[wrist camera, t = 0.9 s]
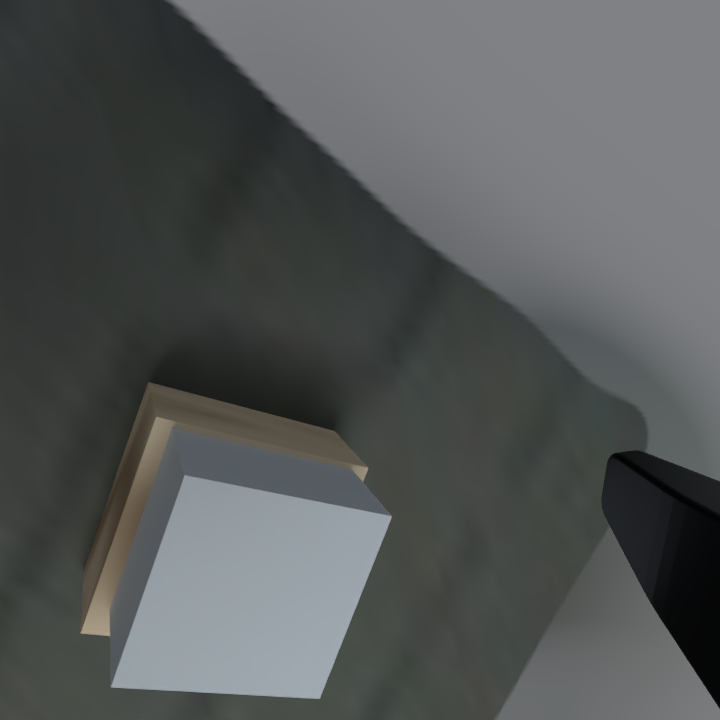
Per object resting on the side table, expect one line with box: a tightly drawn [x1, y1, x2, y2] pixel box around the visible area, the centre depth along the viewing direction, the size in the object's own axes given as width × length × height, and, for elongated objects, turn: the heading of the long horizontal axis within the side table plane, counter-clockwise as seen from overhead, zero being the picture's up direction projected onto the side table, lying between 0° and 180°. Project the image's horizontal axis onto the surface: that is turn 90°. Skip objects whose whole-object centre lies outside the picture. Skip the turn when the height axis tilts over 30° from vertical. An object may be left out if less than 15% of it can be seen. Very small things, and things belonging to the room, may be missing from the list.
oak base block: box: [81, 382, 368, 636], centre depth 20 cm, size 6×6×4 cm
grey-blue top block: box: [109, 428, 392, 699], centre depth 17 cm, size 6×6×3 cm
